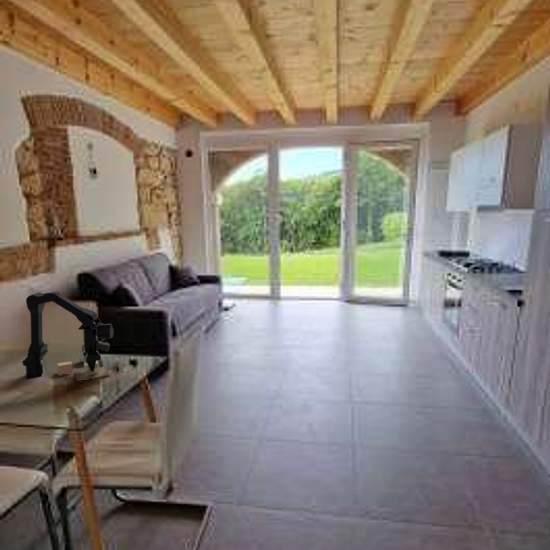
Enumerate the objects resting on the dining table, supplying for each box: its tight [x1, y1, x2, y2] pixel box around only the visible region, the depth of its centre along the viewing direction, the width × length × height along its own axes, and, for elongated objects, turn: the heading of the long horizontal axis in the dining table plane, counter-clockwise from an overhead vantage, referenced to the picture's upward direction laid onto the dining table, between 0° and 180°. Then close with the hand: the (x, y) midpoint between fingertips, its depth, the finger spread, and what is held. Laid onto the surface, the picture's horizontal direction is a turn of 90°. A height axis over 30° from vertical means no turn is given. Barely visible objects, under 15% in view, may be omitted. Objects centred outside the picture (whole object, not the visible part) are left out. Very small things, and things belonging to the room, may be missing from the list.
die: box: [76, 349, 87, 364], centre depth 215 cm, size 8×9×10 cm
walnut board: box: [74, 366, 111, 382], centre depth 199 cm, size 14×12×1 cm
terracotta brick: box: [56, 361, 73, 376], centre depth 200 cm, size 6×4×5 cm, turn 121°
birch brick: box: [83, 360, 100, 376], centre depth 199 cm, size 6×4×5 cm, turn 121°
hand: (91, 369), depth 199 cm, fingers open, 6 cm apart
